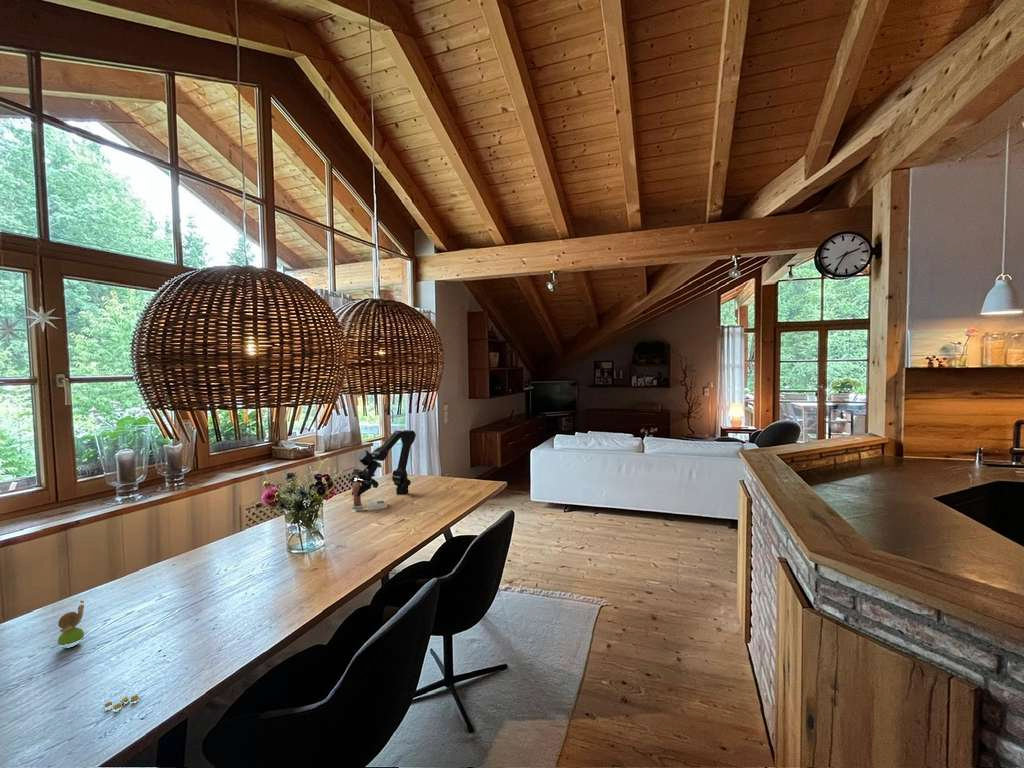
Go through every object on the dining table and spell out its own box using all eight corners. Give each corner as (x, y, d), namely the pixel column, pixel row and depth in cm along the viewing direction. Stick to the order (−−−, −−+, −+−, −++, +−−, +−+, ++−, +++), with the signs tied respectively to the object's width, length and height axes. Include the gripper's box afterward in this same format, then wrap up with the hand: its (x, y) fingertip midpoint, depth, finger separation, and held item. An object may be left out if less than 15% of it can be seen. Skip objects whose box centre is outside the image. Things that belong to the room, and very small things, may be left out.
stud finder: (385, 504, 248) (385, 499, 248) (387, 507, 242) (386, 502, 242) (366, 507, 244) (366, 502, 244) (367, 510, 239) (367, 505, 238)
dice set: (140, 703, 108) (139, 695, 108) (114, 718, 104) (114, 710, 104) (128, 697, 111) (128, 689, 110) (103, 712, 106) (102, 704, 106)
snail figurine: (93, 640, 133) (90, 601, 133) (67, 653, 127) (64, 613, 126) (79, 637, 135) (76, 599, 134) (53, 651, 128) (49, 611, 128)
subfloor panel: (384, 501, 257) (384, 499, 257) (388, 510, 241) (388, 508, 241) (349, 506, 250) (349, 504, 250) (351, 516, 234) (351, 513, 234)
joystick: (363, 506, 242) (362, 481, 241) (360, 509, 237) (359, 484, 236) (354, 506, 242) (353, 481, 241) (351, 509, 237) (349, 484, 236)
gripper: (349, 460, 246) (333, 485, 237) (373, 464, 237) (357, 490, 228) (361, 471, 253) (346, 496, 245) (385, 475, 244) (370, 500, 235)
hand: (354, 495), depth 238 cm, fingers closed on joystick, 3 cm apart
